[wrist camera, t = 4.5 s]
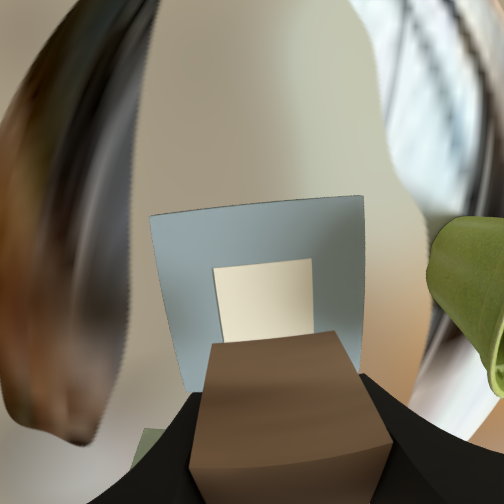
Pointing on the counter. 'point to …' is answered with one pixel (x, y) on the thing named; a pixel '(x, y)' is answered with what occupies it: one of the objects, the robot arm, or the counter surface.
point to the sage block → (146, 443)
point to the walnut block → (287, 425)
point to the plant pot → (473, 286)
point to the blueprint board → (261, 275)
